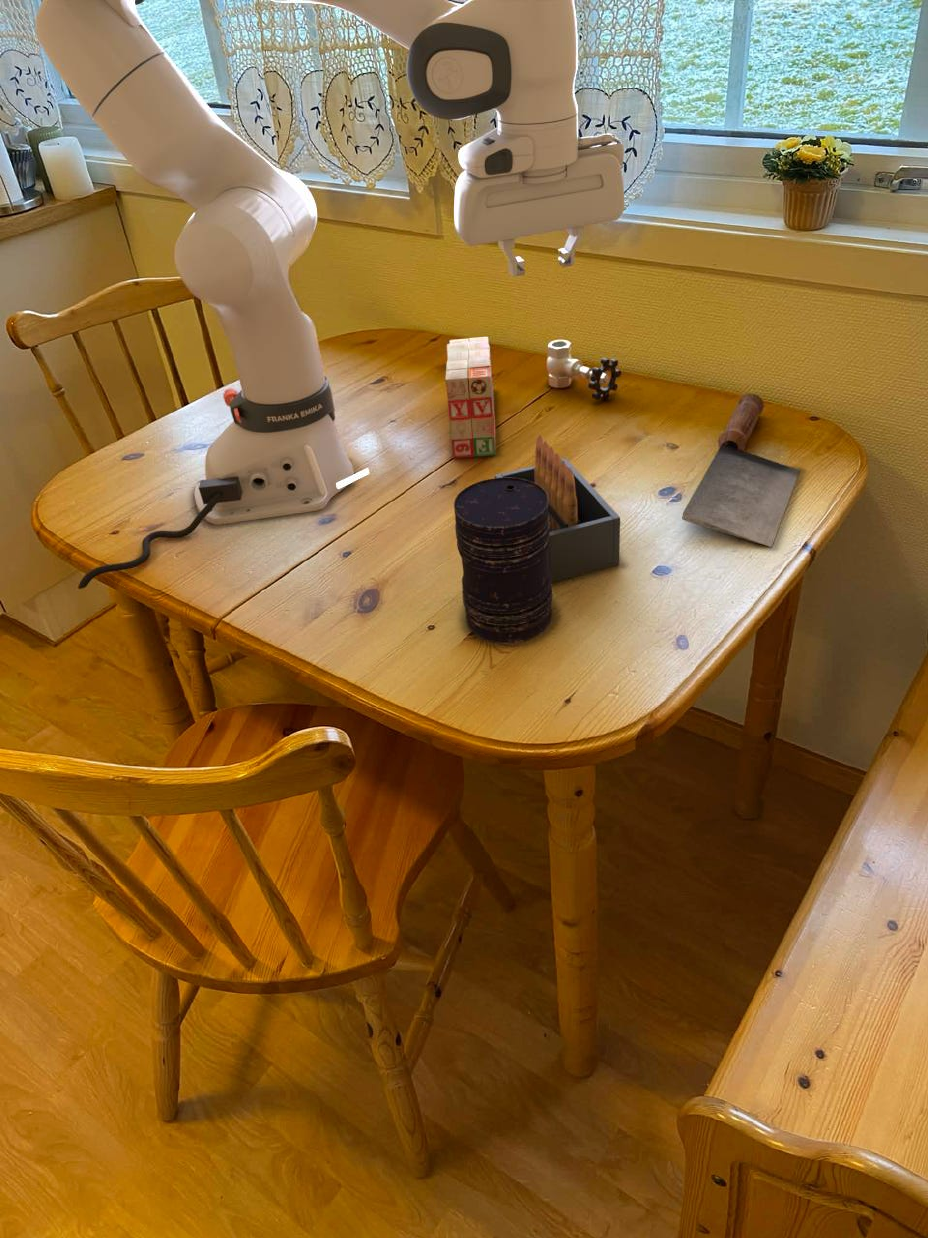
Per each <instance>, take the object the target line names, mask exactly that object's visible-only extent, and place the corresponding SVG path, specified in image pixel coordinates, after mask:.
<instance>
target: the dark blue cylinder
mask: <svg viewBox="0 0 928 1238" xmlns="http://www.w3.org/2000/svg"><path fill="white" fill-rule="evenodd" d="M453 511H454V521H455V525H454V526H455V527H454V528H455V529H454V530H455V538H456V547H457V550H458V554H459V556H460V558H461V565H462V573H463V574H462V577H461V587H462V602H463V603H462V604H463V607H464V610H465V621H466V626H467V627H468V629H469V630H470V631H471V633H472V634H474V635H475V636H476V637H477V638H479V639H482V640H484V641H486V642H490V643H494V644H502V645H503V644H504V645H510V644H518V643H524V642H527V641H530V640H532V639H534V638H536V637H538V636H540V635H541V634H542V633H544V632H545V631H546V630H547V629H548V628H549V626H550V624H551V622H552V620H553V608H552V604H553V602H552V601H553V586H552V584H553V583H551V573H550V570H549V568H548V549H549V545H550V540H551V538H550V519H549V511H548V496H547V493H546V492H545V490H544V489H543V488H542V487H540V486H539V485H537V484H536V483H533V482H531V481H528V480H525V479H519V478H511V477H502V478H495V477H492V478H487V479H483V480H480V481H477V482H475V483H472V484H470V485H468V486H467V487H466V486H465V488H464V489H462V490H461V491H460V492H459V493H458V494H457V495H456V497H455V499H454V502H453Z"/></svg>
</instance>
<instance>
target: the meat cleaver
mask: <svg viewBox="0 0 928 1238" xmlns="http://www.w3.org/2000/svg"><path fill="white" fill-rule="evenodd" d="M764 408H765V404H764V401H763V399H762V397H760V396H759V395H758V394H756V393H747V394H744V395H742V396H741V397H740V398H739V399H738V403H737V406H736V407H735V409H734V411H733V412H732V415H731V417H730V418H729V420H728V422H727V424H726V426H725V428H724V431H723V432H722V433H721V434H720V435H719V437H718V439H717V444H718V446H717V447H718V450H717V452H716V454H715V455H714V457H713V459H712V461H711V462H710V464H709V466H708V468H707V470H706V471H705V473H704V474H703V477H701V480H700V482H699V484H698V486H697V487H696V489H695V491H694V492H693V494H692V495H691V498H690V500H689V501H688V503H687V505H686V507H685V508H684V510H683V512H682V515H681V519H682V521H684V522H688V523H692V524H695V525H698V526H702V527H705V528H708V529H711V530H715V531H716V532H717V531H718V532H721V533H725V534H727V535H730V536H733V537H738V538H740V539H743V540H747V541H750V542H752V543H756V544H760V545H763V546H766V547H769V548H772V547H773V544H774V542H775V539H776V537H777V534H778V531H779V528H780V526H781V523H782V520H783V518H784V515H785V512H786V509H787V507H788V504H789V501H790V499H791V496H792V494H793V491H794V488H795V485H796V483H797V480H798V477H799V475H800V472H801V470H800V469H796V468H794V467H791V466H787V465H785V464H782V463H779V462H776V461H773V460H770V459H768V458H765V457H762V456H759V455H758V454H753V453H751V452H749V451H746V450H745V449H746V447H747V441H748V440H749V439H750V437H751V434H752V432H753V431H754V429H755V426H756V424H757V422H758V420H759V417H760V415H761V414H762V412H763V411H764Z"/></svg>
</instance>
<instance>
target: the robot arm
mask: <svg viewBox="0 0 928 1238" xmlns="http://www.w3.org/2000/svg"><path fill="white" fill-rule="evenodd" d="M270 1H272V2H276V3H285V4H286V3H291V4H292V3H294V4H295V3H296V4H297V3H300V4H301V3H302V4H319V5H325V6H330V7H334V8H336V9H340V10H343V11H345V12H347V13H350V14H351V15H353V16H355V17H357V19H358V18H359V19H360V20H361V21H363V22H365V23H366V24H368V25H370V26H371V27H372V28H374V29H375V30H377V31H379V32H380V33H382V34H384V35H385V36H387V37H388V38H390V39H391V40H392V41H394V42H396V43H397V44H399V45H401V46H403V47H404V48H405V49H407V50H408V53H407V58H406V65H405V66H406V67H405V69H406V70H405V73H406V79H407V80H406V81H407V84H408V88H409V90H410V93H411V95H412V96H413V99H414V100H415V101H416V103H417V104H418V105H419V107H421V109H422V110H424V112H426V113H428V115H431V116H433V117H435V118H437V119H440V120H447V121H458V120H464V119H466V118H469V117H471V116H472V117H473V116H475V115H478V114H482V113H485V112H488V111H491V110H495V111H496V113H497V127H496V128H494V129H492V130H490V131H489V132H487V133H486V134H483V135H482V136H480V137H478V138H477V139H475V140H473V141H471V142H468V143H467V144H465V145H463V146H462V147H461V148H460V149H459V150H458V153H457V154H458V163H459V165H460V167H461V168H462V169H463V171H462V172H461V173H460V174H459V176H458V177H457V181H456V183H455V188H454V200H453V201H454V202H453V204H454V205H453V219H454V230H455V234H456V236H457V237H458V238H459V239H460V241H461V242H462V243H464V244H465V245H467V246H468V247H475V246H476V247H477V246H482V245H487V244H493V243H497V246H498V247H499V248H500V250H501V252H502V253H503V255H504V257H505V258H506V259H507V267H508V268H507V269H508V273H509V275H510V276H511V277H512V278H514V277H519V276H524V275H525V273H526V270H525V265H526V264H525V259H523V258H522V257H521V256H516V255H515V254H514V252H513V250H512V249H515V247H516V239H520V238H526V237H531V236H536V235H542V234H547V233H553V232H554V233H555V232H559V231H563V230H564V231H565V233H567V234H568V237H567V240H566V242H565V244H564V247H562V248H559V249H557V256H558V258H557V262H558V266H560V267H561V268H567V267H572V266H575V263H576V259H575V258H576V257H575V256H576V251H577V249H578V247H579V246H580V243H581V242H582V239H583V238H584V235H585V234H584V233H585V230H584V228H585V227H587V226H590V225H592V226H593V225H598V224H603V223H608V222H615V221H618V220H619V219H620V217H621V216H622V214H623V213H624V210H625V190H624V179H623V172H622V169H623V166H624V154H625V152H624V151H625V150H624V145H623V143H622V141H621V140H620V139H619V138H618V137H616V136H613V134H612V133H602V134H599V135H595V136H583V137H579V107H578V103H577V99H576V96H575V95H576V94H575V83H576V76H577V73H578V68H579V48H578V23H577V13H576V5H575V0H270ZM144 2H145V0H42V1H41V3H40V4H39V7H38V8H37V9H38V10H37V12H36V16H35V32H36V36H37V39H38V41H39V44H40V46H41V48H42V50H43V51H44V52H45V54H46V56H47V58H48V59H49V61H50V63H51V65H52V66H53V68H54V70H55V71H56V72H57V74H58V75H59V77H60V78H61V79H62V81H63V82H64V84H65V85H66V87H67V88H68V90H69V91H70V92H71V94H72V95H73V96H74V98H75V99H76V101H77V102H78V103H79V104H80V106H81V107H82V109H83V110H84V111H85V112H86V113H87V114H88V115H89V117H90V118H91V120H92V121H93V122H94V123H95V124H96V125H97V126H98V128H99V129H100V130H101V131H102V132H103V134H104V135H105V136H106V137H107V138H108V140H109V141H110V142H111V143H112V144H113V145H114V147H115V148H116V149H117V150H118V152H119V153H120V154H121V155H122V156H123V158H125V159H126V161H127V162H128V164H129V165H131V167H132V168H133V169H134V170H135V171H136V172H137V174H138V175H139V176H140V178H142V179H143V180H145V181H146V182H147V183H149V184H150V185H152V186H154V187H157V188H160V189H163V190H166V191H168V192H170V193H172V194H173V195H175V196H176V197H178V198H180V199H181V200H182V201H184V202H185V203H186V204H188V205H189V206H190V207H192V208H193V209H194V210H195V212H193V213H192V215H191V216H190V218H189V219H188V221H187V222H186V224H185V225H184V227H183V228H182V230H181V232H180V234H179V236H178V237H177V240H176V242H175V246H174V255H173V257H174V263H175V267H176V271H177V273H178V276H179V278H180V280H181V282H182V283H183V284H184V286H185V287H186V288H187V290H188V291H189V292H190V293H191V294H192V295H193V296H195V297H196V298H197V299H198V300H200V301H201V302H203V303H205V304H207V305H208V306H209V307H210V309H211V310H212V311H213V313H214V315H215V317H216V318H217V320H218V322H219V324H220V326H221V327H222V330H223V332H224V334H225V336H226V338H227V341H228V345H229V347H230V350H231V355H232V358H233V362H234V366H235V370H236V373H237V378H238V381H239V384H240V388H241V390H240V391H237V390H236V389H235V388H231V387H230V388H227V389H225V390H224V393H223V394H222V395H223V400H224V404H225V405H226V406H227V407H229V408H230V413H231V417H232V419H233V421H232V422H230V424H229V425H228V426H227V427H226V428H225V429H224V431H223V432H222V433H221V434H220V435H219V436H217V437H216V438H215V440H214V441H212V442H211V443H210V444H209V446H208V448H207V451H206V454H205V461H204V474H202V475H201V476H200V477H199V479H198V480H197V482H196V483H195V486H194V493H193V494H194V501H195V505H196V509H197V511H198V514H197V515H196V516H195V517H194V519H193V520H192V522H191V523H190V524H189V525H188V526H187V527H185V528H183V529H180V530H155V531H152V532H150V533H149V534H147V535H146V536H145V537H144V538H143V539H142V542H141V548H142V553H141V555H140V556H138V557H137V558H135V559H132V560H129V561H125V562H118V563H111V564H105V565H101V566H97V567H95V568H93V569H91V570H89V571H88V572H87V573H86V574H85V575H84V576H83V577H82V578H81V580H80V582H79V584H78V586H77V587H78V588H77V589H78V590H81V589H82V590H83V589H85V588H86V587H88V585H89V583H91V581H92V580H93V579H94V578H96V577H97V576H99V575H103V574H106V573H112V572H119V571H126V570H130V569H134V568H137V567H139V566H141V565H142V564H144V563H145V562H147V560H148V559H149V558H150V556H151V549H150V543H151V542H153V541H154V540H156V539H160V538H166V539H167V538H168V539H179V538H184V537H187V536H189V535H190V534H192V533H193V532H194V531H195V530H196V529H198V527H199V526H200V525H201V523H202V521H204V520H205V521H206V522H208V523H210V524H212V525H216V526H217V525H225V524H232V523H239V522H247V521H254V520H260V519H268V518H275V517H282V516H289V515H295V514H304V513H311V512H316V511H320V510H322V509H324V508H325V507H326V506H327V505H328V504H329V502H330V501H331V499H332V498H333V497H334V496H335V495H337V494H338V493H341V491H343V490H344V489H346V488H347V486H348V485H350V484H351V483H354V482H355V481H357V480H359V479H362V478H363V477H365V476H367V475H370V470H369V468H365V469H363V470H360V471H358V472H356V473H355V468H354V465H353V463H352V462H351V461H350V458H349V457H348V454H347V452H346V449H345V448H344V445H343V443H342V439H341V436H340V434H339V431H338V428H337V425H336V413H335V412H336V409H335V408H336V407H335V402H334V396H333V392H332V386H331V384H330V381H329V380H328V378H327V376H326V375H325V371H324V365H323V362H322V361H323V360H322V357H321V351H320V345H319V339H318V335H317V330H316V326H315V323H314V321H313V319H312V318H311V317H310V316H309V315H307V314H306V313H304V312H303V311H302V309H301V308H300V307H301V306H299V303H298V302H297V299H296V297H295V295H294V293H293V290H292V287H291V284H290V279H289V278H290V277H289V276H290V275H289V274H290V273H289V272H290V267H291V266H292V265H293V264H294V263H295V262H297V260H298V259H300V257H302V255H304V253H306V250H307V249H308V247H309V245H310V243H311V241H312V238H313V236H314V233H315V230H316V227H317V223H318V210H317V204H316V202H315V201H316V200H315V199H314V197H313V195H312V192H311V191H310V189H309V188H308V187H307V185H306V184H305V183H304V182H303V181H302V180H300V179H299V178H298V177H297V176H295V175H293V174H292V173H289V172H287V171H284V170H282V169H280V168H277V167H276V166H274V165H273V164H272V163H270V162H269V161H268V160H267V159H265V158H264V157H263V156H262V155H261V154H260V153H258V152H257V151H256V150H254V149H253V147H251V146H250V145H249V144H248V143H247V142H245V141H244V140H243V139H242V138H241V137H240V136H239V135H237V133H235V132H234V131H233V130H232V129H231V128H230V127H229V126H227V124H226V123H225V122H224V121H223V120H221V118H220V117H218V115H217V114H216V113H215V112H214V111H213V110H212V108H211V107H210V106H209V105H208V104H207V102H205V100H204V98H203V97H202V96H201V95H200V93H198V91H197V90H196V89H195V88H194V86H193V85H192V84H191V82H190V81H189V80H188V78H187V77H186V76H185V75H184V74H183V72H182V71H181V70H180V69H179V67H178V66H177V65H176V64H175V62H174V61H173V60H172V58H171V57H170V56H169V55H168V53H167V52H166V51H165V49H163V47H162V46H161V45H160V43H159V41H157V40H156V38H155V37H154V36H153V35H152V34H151V32H150V30H148V28H147V26H146V25H145V24H144V22H143V20H142V18H141V17H140V15H139V13H138V10H137V7H136V6H138V5H141V4H143V3H144Z"/></svg>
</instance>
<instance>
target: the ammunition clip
mask: <svg viewBox="0 0 928 1238" xmlns="http://www.w3.org/2000/svg"><path fill="white" fill-rule="evenodd" d="M534 449H535V450H534V452H535V453H534V455H535V456H534V458H535V459H534V465H533V466H534V475H535V483H536V484H537V485H539V486H540V487H542V488H543V489H544V490H545V492H546V493H547V496H548V511H549V519H550V532H552V531H556V530H559V529H563V528H567V527H571V526H575V525H578V524H580V521H579V519H578V515H577V498H576V491H575V480H574V475H573V472H572V470H571V468H568V470H567V466H566V463H565V462H564V461H562V462H561V460H560V459H561V457H560V455H559V454H558V453H556V452H555V450H554V448H553V447H552V446H550V447H549V444H548V442H547V441H546V440H544V439H543V437H542V434H538V435H537V438H536V441H535V448H534ZM555 453H556V454H555Z"/></svg>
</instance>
